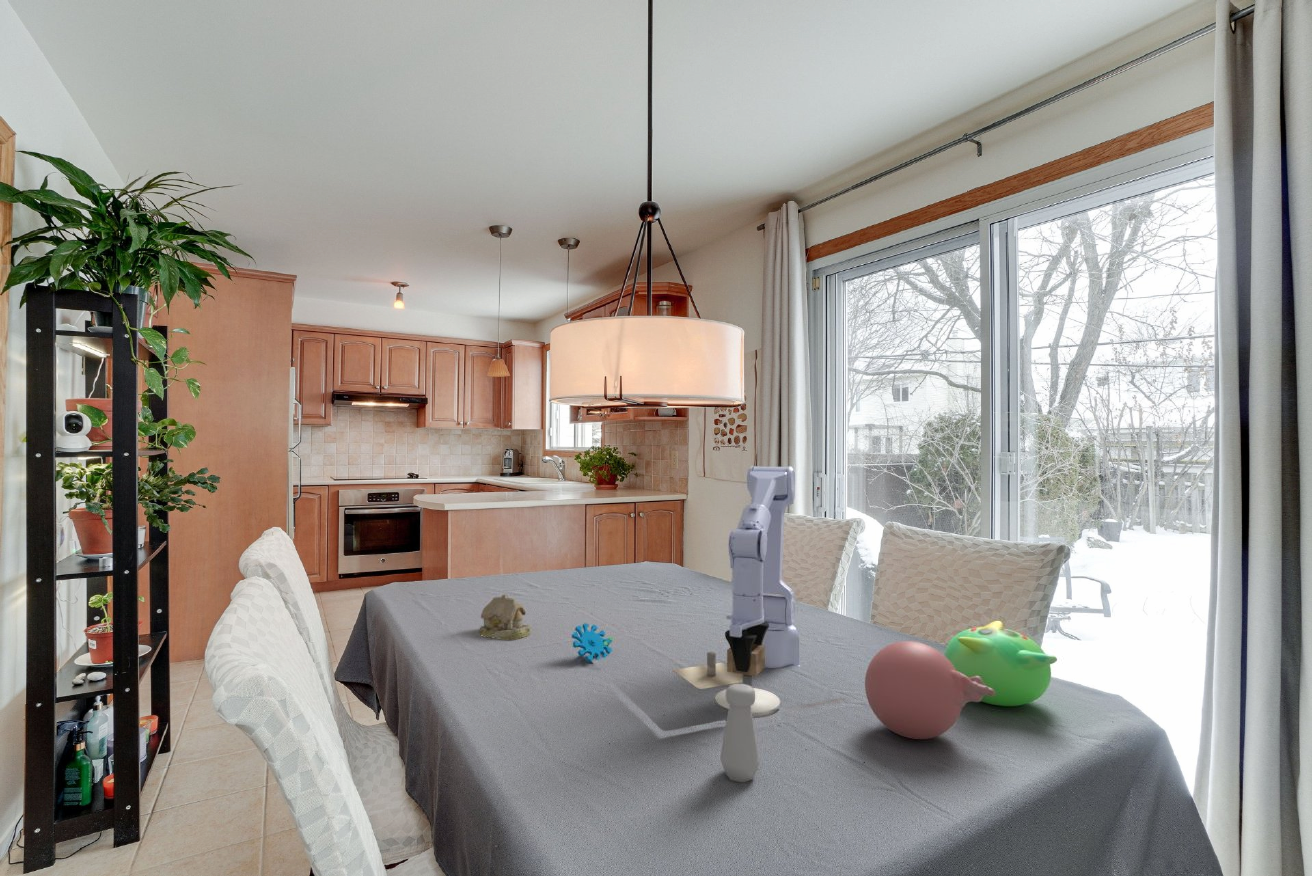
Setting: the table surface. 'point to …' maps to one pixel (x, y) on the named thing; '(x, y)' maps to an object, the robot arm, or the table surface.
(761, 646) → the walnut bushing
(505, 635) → the ceramic model
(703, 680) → the birch stand
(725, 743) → the salt shaker
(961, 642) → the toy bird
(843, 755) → the table surface
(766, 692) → the cream plate
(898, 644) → the balloon
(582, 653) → the gear
